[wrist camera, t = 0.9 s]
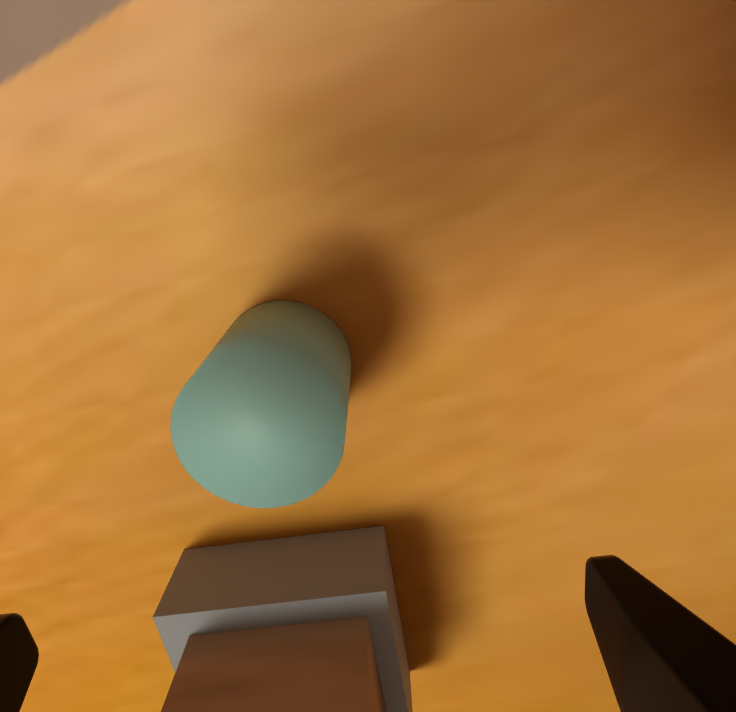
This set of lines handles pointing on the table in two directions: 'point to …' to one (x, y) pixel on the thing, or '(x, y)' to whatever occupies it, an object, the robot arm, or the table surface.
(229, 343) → the teal cylinder
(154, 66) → the table surface
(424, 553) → the table surface
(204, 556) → the slate base
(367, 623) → the walnut block
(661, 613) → the robot arm
